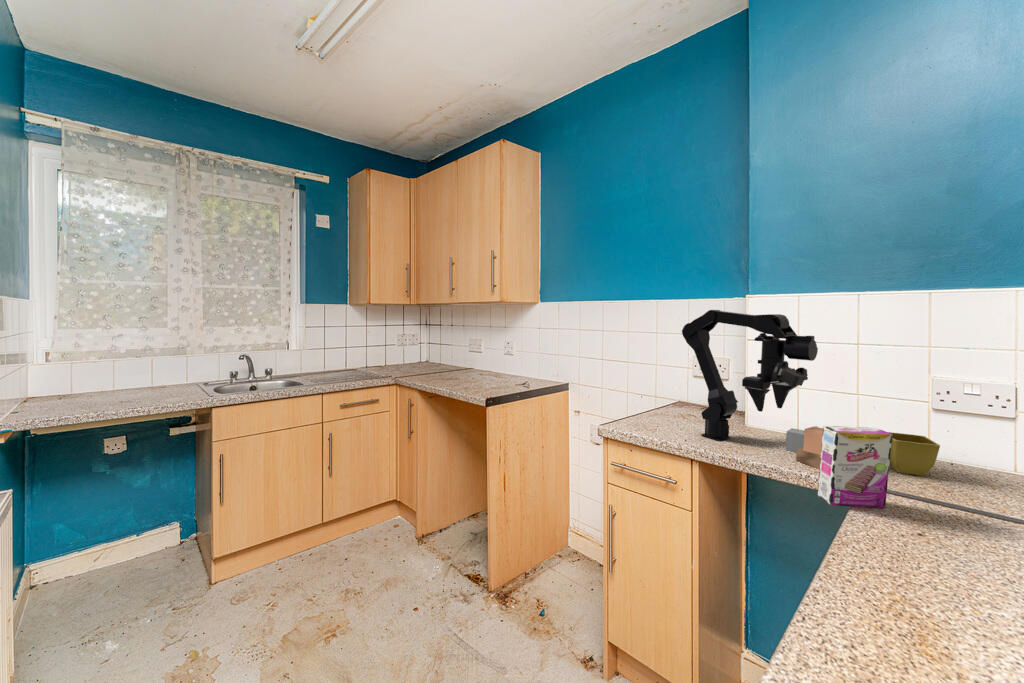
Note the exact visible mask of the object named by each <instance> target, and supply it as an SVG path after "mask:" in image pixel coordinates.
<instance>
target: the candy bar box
mask: <svg viewBox="0 0 1024 683" xmlns="http://www.w3.org/2000/svg"><path fill="white" fill-rule="evenodd" d="M822 428H823V435H822V447H821V461H820V471H818V473H819V475H818V486H817V487H818V488H817V497H818V498H820V499H822V501H824V502H825V503H826V504H828V505H829V506H840V507H856V508H857V507H859V508H876V509H878V508H879V509H886V504H887V503H886V502H887V493H888V483H889V472H890V471H889V470H890V453H891V443H892V434H891V433H888V432H889V431H885V430H883V429H879V428H877V427H867V426H865V427H864V426H860V427H859V426H836V425H823V427H822Z"/></svg>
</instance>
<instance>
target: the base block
mask: <svg viewBox="0 0 1024 683" xmlns="http://www.w3.org/2000/svg"><path fill="white" fill-rule="evenodd" d="M796 461H797V462H800V463H802V464H801V465H803V464H805V465H808V466H810V467H809V468H811V467H813V468H816V469H819V470H820V461H821V455H818V454H815V453H811V452H807V451H804V450H803V448H799V449H797V450H796V453H795V462H796ZM797 462H796V463H797ZM800 463H799V464H800ZM805 465H804V466H805ZM808 466H807V467H808ZM813 468H812V469H813ZM816 469H815V470H816ZM819 470H818V471H819Z"/></svg>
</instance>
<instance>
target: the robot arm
mask: <svg viewBox="0 0 1024 683" xmlns="http://www.w3.org/2000/svg"><path fill="white" fill-rule="evenodd" d="M720 323H721V324H726V325H732V326H739V327H745V328H747V327H748V328H750V329H752V330H755V331H757V332H760V333H759V335H758V336H757V337H755V338H754V342H761V356H760V358H761V359H758V360H757V364H760V372H759V373H756V376H754V375H753V376H751V375H750V376H745V377H743V378H742V379H741V380H742V382H741V383H742V384H741V386H742V387H744V389H745V390H747V392H748V394H749V395H750V397H751V399H752V401H753V403H754V405H755V407H756V409H757V411H758V412H764V410H763V409H764V405H765V399H766V394H767V393H769V392H770V391H771V389H770V387H771V386H772V390H773V396H774V400H775V401H774V402H775V404H776V407H777V409H782V408H783V406H784V404H785V401H786V399H787V397H788V394H789V393H790V391H792V390H793V389H795V388H797V387H798V386H800V387H802V386H803V383H804V382H805V381H807V380H808V379H809V378H808V376H809V374H808V368H805V367H798V368H796V369H795V368H791V367H789V362H788V361H787V360H785V356H786V357H787V359H789V360H799V361H810V362H813V361H814V360H816V358H817V356H818V350H819V348H818V346H817V342H816V340H815V335H797V333H796V332H795V331H794V329H793V328H792V326H791V325H790V320H789V319H788V317H787V316H786V315H784V314H777V313H776V314H774V313H773V314H769V313H767V314H747V313H738V312H731V311H725V310H724V311H723V310H720V309H709V310H708V311H706V312H705V313H704V314H702V315H701V316H699V317H697V318H695V319H694V320H692V321H691V322H688V323H686V324H684V326H683V328H682V329H681V335H682V337H683V339H684V340H685V342H686V343H687V345H689V347H690V348H692V350H693V351H694V354H695V356H696V359H697V360H696V361H697V362H698V364H699V368H700V370H701V374H702V376H703V378H704V382H705V384H706V387H707V389H708V394H707V404H708V407H706V408H705V409H704V410H703V411H701V416H702V419H703V420H704V433H701V435H700V436H702V437H705V438H708V439H711V440H715V441H724V440H728V439H731V436H730V425H729V420H728V419H731V418H732V417H733V416H732V415H733V414H735V413H736V411H737V409H738V404H737V403H739V401H738V400H737V398H736V396H735V392H734V390H728V389H727V388H726V387H725V385H724V382H723V381H722V377H721V375H720V372H719V369H718V367H717V364H716V361H715V359H714V356H713V354H712V351H711V349H710V339H711V337H710V332H711V331H712V330H713V329H714V328H716V326H717V324H720Z"/></svg>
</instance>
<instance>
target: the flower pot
mask: <svg viewBox="0 0 1024 683" xmlns="http://www.w3.org/2000/svg"><path fill="white" fill-rule="evenodd" d="M887 432H888V433H891V434H892V443H891V453H890V464H889V466H890V467H891V468H892V469H894V470H895V471H896V472H897V473H900V474H906V475H907V474H908V475H915V476H920V477H923V476H925V475H927V474H928V473H929V472H930V471H931V470H932V469H933V467H934V466H935V464H936V461H937V457H938V454H939V451H940V448H941V444H939V443H937V442H936V441H933V440H932V439H930V438H929V437H927V436H925V435H917V434H909V433H900V432H899V433H898V432H891V431H890V432H889V431H887Z"/></svg>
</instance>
